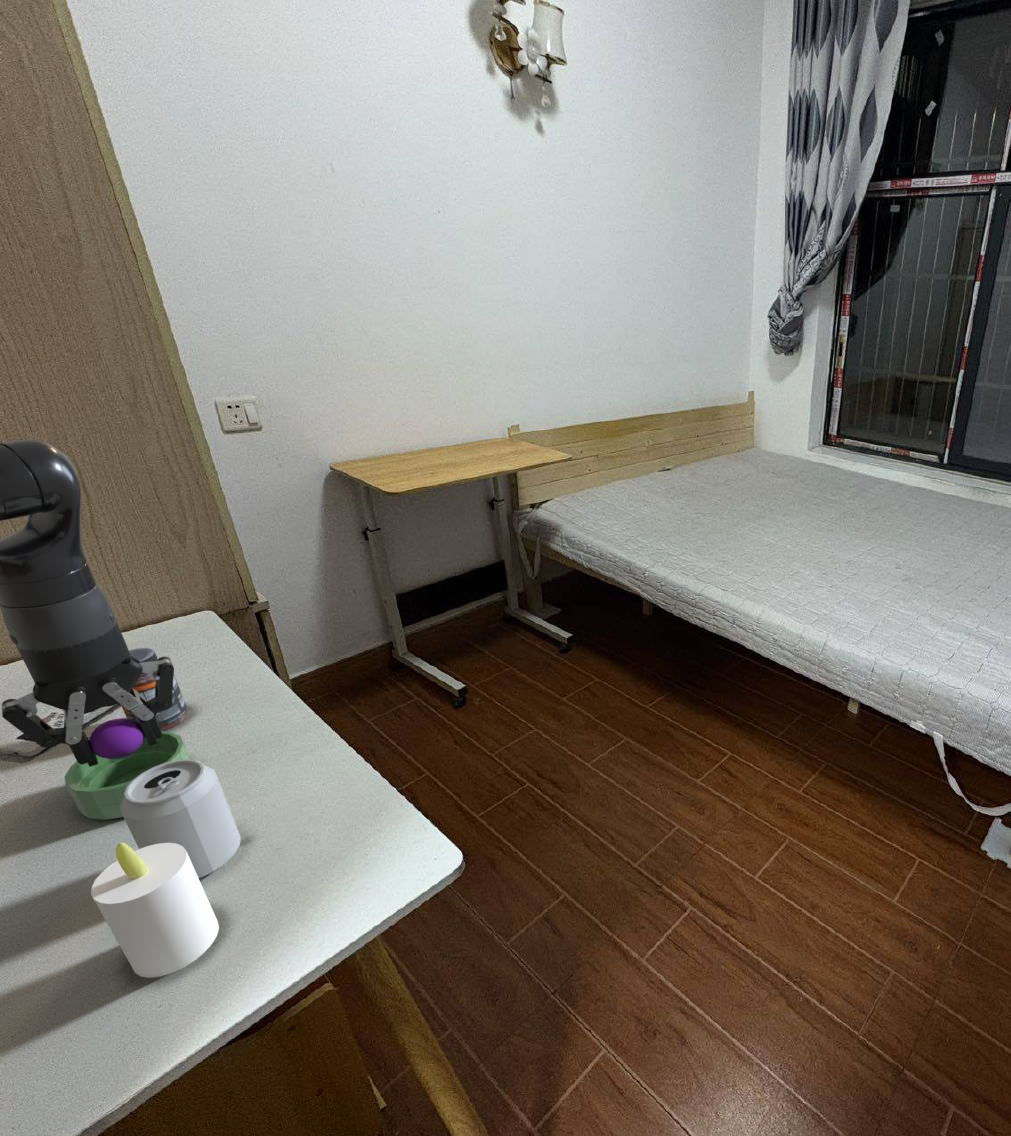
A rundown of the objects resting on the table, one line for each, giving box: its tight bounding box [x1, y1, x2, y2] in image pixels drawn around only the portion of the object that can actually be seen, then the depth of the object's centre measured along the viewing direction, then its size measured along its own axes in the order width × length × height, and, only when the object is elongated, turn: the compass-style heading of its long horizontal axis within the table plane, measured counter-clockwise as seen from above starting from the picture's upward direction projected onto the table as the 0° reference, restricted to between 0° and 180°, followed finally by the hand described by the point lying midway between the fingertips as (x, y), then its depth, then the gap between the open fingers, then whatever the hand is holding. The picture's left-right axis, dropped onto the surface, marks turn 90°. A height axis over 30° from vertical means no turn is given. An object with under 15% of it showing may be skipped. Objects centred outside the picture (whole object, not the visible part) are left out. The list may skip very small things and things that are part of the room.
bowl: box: [64, 730, 191, 821], centre depth 75 cm, size 10×10×5 cm
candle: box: [90, 842, 220, 979], centre depth 57 cm, size 6×6×15 cm
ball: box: [88, 717, 145, 759], centre depth 72 cm, size 5×5×5 cm
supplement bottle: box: [120, 647, 189, 731], centre depth 84 cm, size 6×6×11 cm
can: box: [120, 758, 242, 879], centre depth 66 cm, size 8×8×12 cm
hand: (123, 751), depth 73 cm, fingers closed on ball, 4 cm apart
